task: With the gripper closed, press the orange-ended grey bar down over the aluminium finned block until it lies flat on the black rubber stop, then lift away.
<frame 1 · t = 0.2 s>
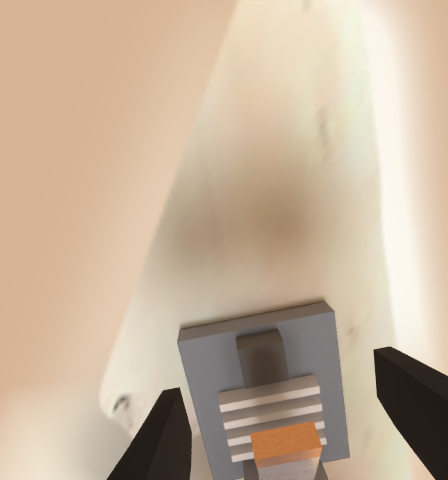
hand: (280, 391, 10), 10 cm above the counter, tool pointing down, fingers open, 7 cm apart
heatsink base: (265, 388, 21), on the counter
orange-ended grey bar: (286, 471, 16), point 6 cm above the counter, hinge at 25.0°
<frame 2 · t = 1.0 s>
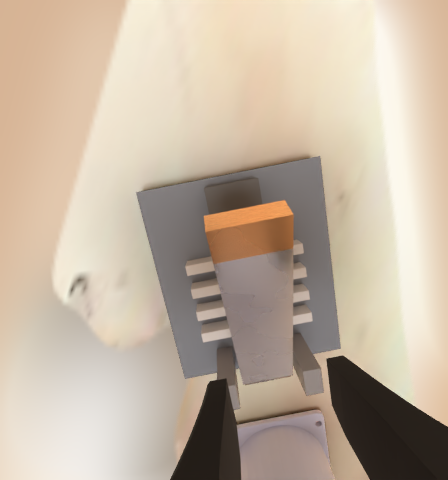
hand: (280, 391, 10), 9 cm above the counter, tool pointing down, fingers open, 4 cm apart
heatsink base: (244, 269, 19), on the counter
orange-ended grey bar: (259, 318, 13), point 6 cm above the counter, hinge at 25.0°
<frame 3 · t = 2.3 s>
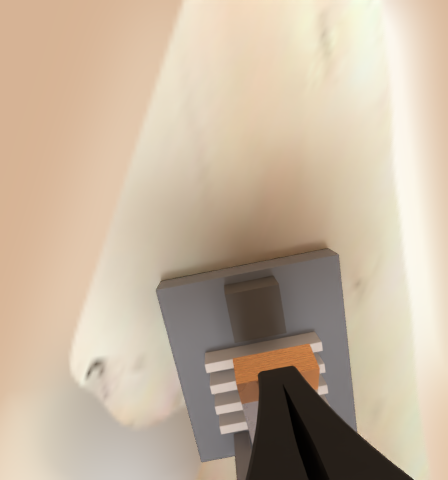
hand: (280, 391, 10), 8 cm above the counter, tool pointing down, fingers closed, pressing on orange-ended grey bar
heatsink base: (260, 352, 19), on the counter
orange-ended grey bar: (280, 429, 13), point 6 cm above the counter, hinge at 22.2°, touching gripper
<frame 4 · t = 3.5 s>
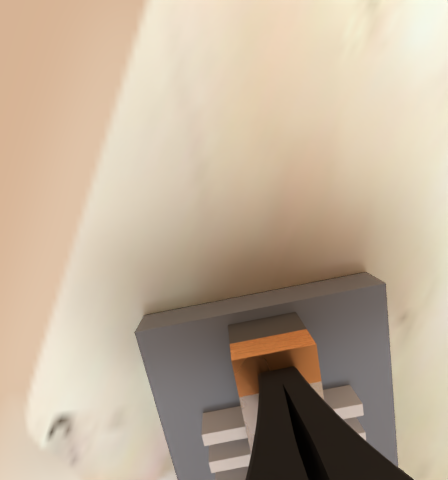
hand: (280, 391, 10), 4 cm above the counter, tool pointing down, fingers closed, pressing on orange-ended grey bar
heatsink base: (274, 404, 14), on the counter
orange-ended grey bar: (293, 473, 11), point 3 cm above the counter, hinge at -0.5°, touching gripper
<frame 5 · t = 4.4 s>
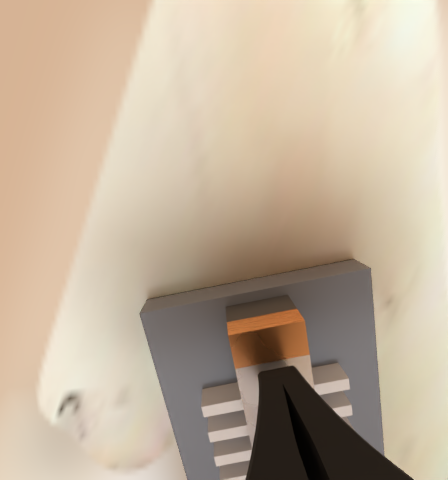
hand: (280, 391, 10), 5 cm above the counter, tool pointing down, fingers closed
heatsink base: (269, 383, 15), on the counter
orange-ended grey bar: (285, 440, 12), point 3 cm above the counter, hinge at -0.5°
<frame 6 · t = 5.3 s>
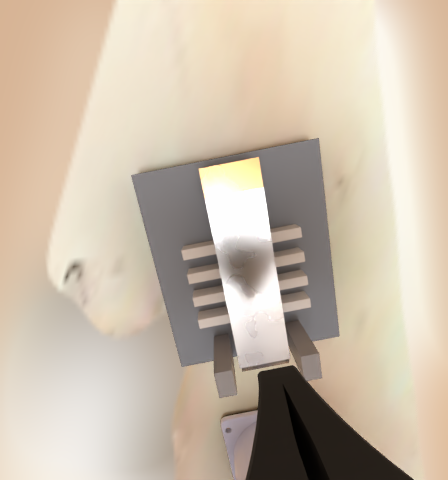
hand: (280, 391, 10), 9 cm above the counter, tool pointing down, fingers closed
heatsink base: (241, 255, 18), on the counter
orange-ended grey bar: (248, 273, 15), point 3 cm above the counter, hinge at -0.5°
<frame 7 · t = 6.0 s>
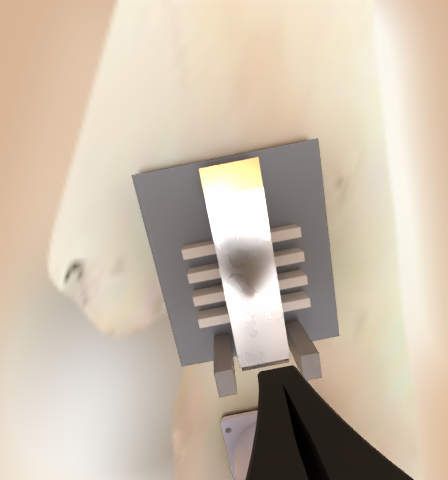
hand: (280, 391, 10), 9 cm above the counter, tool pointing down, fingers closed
heatsink base: (241, 255, 18), on the counter
orange-ended grey bar: (248, 272, 15), point 3 cm above the counter, hinge at -0.5°
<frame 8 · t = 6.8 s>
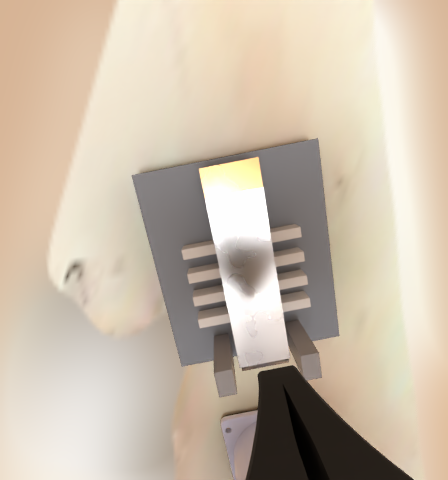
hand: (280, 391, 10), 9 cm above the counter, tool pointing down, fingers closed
heatsink base: (241, 255, 18), on the counter
orange-ended grey bar: (248, 272, 15), point 3 cm above the counter, hinge at -0.5°
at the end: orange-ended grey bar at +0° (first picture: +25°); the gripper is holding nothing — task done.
